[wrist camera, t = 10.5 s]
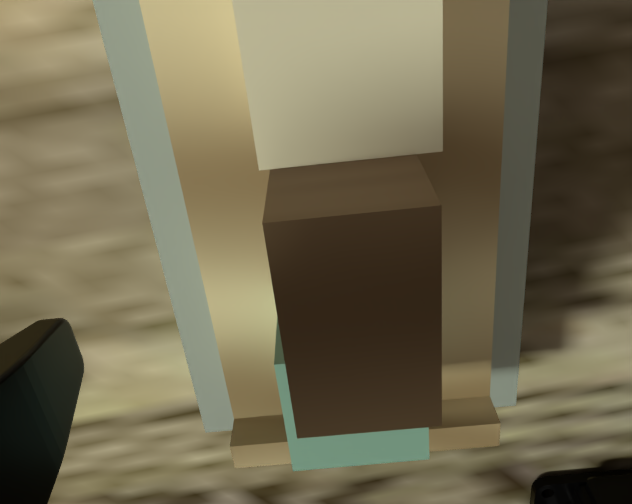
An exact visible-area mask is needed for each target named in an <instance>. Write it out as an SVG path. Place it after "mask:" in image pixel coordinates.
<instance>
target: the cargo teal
mask: <svg viewBox="0 0 632 504" xmlns="http://www.w3.org/2000/svg"><path fill="white" fill-rule="evenodd" d="M274 368H275V373H276V379H277V385H278V390H279V396H280V401H281V407H282V413H283V418H284V424H285V429H286V435H287V441H288V446H289V452H290V457H291V463H292V468H293V471H300V470H312V469H323V468H334V467H346V466H357V465H369V464H380V463H391V462H403V461H414V460H426V459H429V427H426V428H414V429H403V430H391V431H380V432H368V433H357V434H345V435H334V436H322V437H311V438H299V439H297V435H296V428H295V422H294V416H293V410H292V404H291V398H290V391H289V385H288V379H287V373H286V367H285V361H284V354H283V348H282V342H281V336H280V330H279V324H278V317H277V329H276V343H275V357H274Z"/></svg>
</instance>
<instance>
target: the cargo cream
mask: <svg viewBox="0 0 632 504" xmlns="http://www.w3.org/2000/svg"><path fill="white" fill-rule="evenodd" d="M232 4H233V10H234V16H235V23H236V29H237V35H238V42H239V48H240V54H241V60H242V67H243V73H244V79H245V86H246V92H247V98H248V105H249V111H250V117H251V123H252V130H253V136H254V142H255V149H256V155H257V161H258V167H259V171H260V170H269V169H279V168H289V167H298V166H308V165H317V164H327V163H337V162H346V161H356V160H366V159H375V158H385V157H394V156H404V155H414V154H423V153H433V152H442V151H443V0H232Z"/></svg>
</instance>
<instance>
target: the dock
mask: <svg viewBox="0 0 632 504" xmlns="http://www.w3.org/2000/svg"><path fill="white" fill-rule="evenodd" d="M93 4H94V8H95V12H96V15H97V19H98V23H99V27H100V31H101V35H102V38H103V42H104V46H105V50H106V54H107V57H108V61H109V65H110V69H111V73H112V77H113V80H114V84H115V88H116V92H117V96H118V100H119V103H120V107H121V111H122V115H123V119H124V122H125V126H126V130H127V134H128V138H129V142H130V145H131V149H132V153H133V157H134V161H135V165H136V168H137V172H138V176H139V180H140V184H141V187H142V191H143V195H144V199H145V203H146V207H147V210H148V214H149V218H150V222H151V226H152V230H153V233H154V237H155V241H156V245H157V249H158V252H159V256H160V260H161V264H162V268H163V272H164V275H165V279H166V283H167V287H168V291H169V295H170V298H171V302H172V306H173V310H174V314H175V318H176V321H177V325H178V329H179V333H180V337H181V340H182V344H183V348H184V352H185V356H186V360H187V363H188V367H189V371H190V375H191V379H192V383H193V386H194V390H195V394H196V398H197V402H198V405H199V409H200V413H201V417H202V421H203V425H204V428H205V432H217V431H228V430H232V429H233V422H234V417H233V412H232V408H231V404H230V399H229V395H228V390H227V386H226V382H225V377H224V373H223V368H222V364H221V360H220V355H219V351H218V346H217V342H216V338H215V333H214V329H213V324H212V320H211V316H210V311H209V307H208V302H207V298H206V294H205V289H204V285H203V280H202V276H201V272H200V267H199V263H198V259H197V254H196V250H195V245H194V241H193V237H192V232H191V228H190V223H189V219H188V215H187V210H186V206H185V201H184V197H183V193H182V188H181V184H180V179H179V175H178V171H177V166H176V162H175V157H174V153H173V149H172V144H171V140H170V135H169V131H168V127H167V122H166V118H165V113H164V109H163V105H162V100H161V96H160V91H159V87H158V83H157V78H156V74H155V69H154V65H153V61H152V56H151V52H150V47H149V43H148V39H147V34H146V30H145V25H144V21H143V17H142V12H141V8H140V3H139V0H93ZM547 6H548V0H510V5H509V25H508V45H507V65H506V85H505V105H504V125H503V145H502V164H501V184H500V204H499V224H498V244H497V264H496V284H495V304H494V324H493V343H492V363H491V383H490V398H491V400H492V403H493V406H494V407H504V406H515V405H516V396H517V384H518V371H519V358H520V346H521V333H522V321H523V308H524V295H525V283H526V270H527V258H528V245H529V232H530V220H531V207H532V195H533V182H534V169H535V157H536V144H537V132H538V119H539V106H540V94H541V81H542V69H543V56H544V43H545V31H546V18H547Z"/></svg>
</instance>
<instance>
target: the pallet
mask: <svg viewBox="0 0 632 504" xmlns="http://www.w3.org/2000/svg"><path fill="white" fill-rule="evenodd" d="M139 3H140V8H141V12H142V17H143V21H144V25H145V30H146V34H147V39H148V43H149V47H150V52H151V56H152V61H153V65H154V69H155V74H156V78H157V83H158V87H159V91H160V96H161V100H162V105H163V109H164V113H165V118H166V122H167V127H168V131H169V135H170V140H171V144H172V149H173V153H174V157H175V162H176V166H177V171H178V175H179V179H180V184H181V188H182V193H183V197H184V201H185V206H186V210H187V215H188V219H189V223H190V228H191V232H192V237H193V241H194V245H195V250H196V254H197V259H198V263H199V267H200V272H201V276H202V280H203V285H204V289H205V294H206V298H207V302H208V307H209V311H210V316H211V320H212V324H213V329H214V333H215V338H216V342H217V346H218V351H219V355H220V360H221V364H222V368H223V373H224V377H225V382H226V386H227V390H228V395H229V399H230V404H231V408H232V412H233V417H234V422H233V429H232V436H231V443H230V449H231V453H232V457H233V462H234V466H235V468H244V467H255V466H267V465H279V464H290V463H291V457H290V452H289V446H288V441H287V435H286V429H285V424H284V418H283V413H282V407H281V401H280V396H279V390H278V385H277V379H276V373H275V368H274V357H275V343H276V329H277V317H278V324H279V330H280V336H281V342H282V348H283V354H284V361H285V367H286V373H287V379H288V385H289V391H290V398H291V404H292V410H293V416H294V422H295V428H296V435H297V439H299V438H311V437H322V436H334V435H345V434H357V433H368V432H380V431H391V430H403V429H414V428H426V427H429V452H431V451H443V450H454V449H466V448H478V447H490V446H499V439H500V421H499V418H498V416H497V413H496V411H495V408H494V406H493V403H492V400H491V398H490V383H491V363H492V343H493V324H494V304H495V284H496V264H497V244H498V224H499V204H500V184H501V164H502V145H503V125H504V105H505V85H506V65H507V45H508V25H509V5H510V0H443V151H442V152H433V153H423V154H414V155H404V156H394V157H385V158H375V159H366V160H356V161H346V162H337V163H327V164H317V165H308V166H298V167H289V168H279V169H269V170H260V171H259V167H258V161H257V155H256V149H255V142H254V136H253V130H252V123H251V117H250V111H249V105H248V98H247V92H246V86H245V79H244V73H243V67H242V60H241V54H240V48H239V42H238V35H237V29H236V23H235V16H234V10H233V4H232V0H139Z"/></svg>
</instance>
